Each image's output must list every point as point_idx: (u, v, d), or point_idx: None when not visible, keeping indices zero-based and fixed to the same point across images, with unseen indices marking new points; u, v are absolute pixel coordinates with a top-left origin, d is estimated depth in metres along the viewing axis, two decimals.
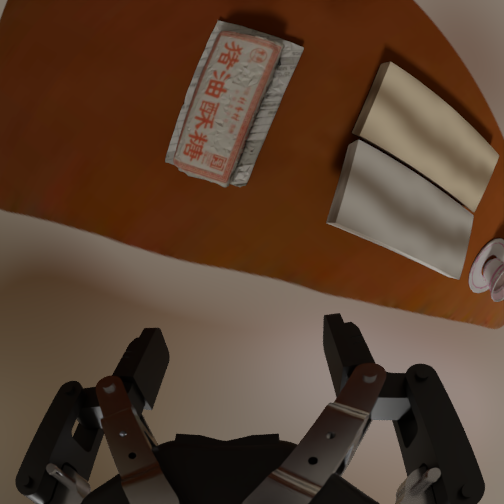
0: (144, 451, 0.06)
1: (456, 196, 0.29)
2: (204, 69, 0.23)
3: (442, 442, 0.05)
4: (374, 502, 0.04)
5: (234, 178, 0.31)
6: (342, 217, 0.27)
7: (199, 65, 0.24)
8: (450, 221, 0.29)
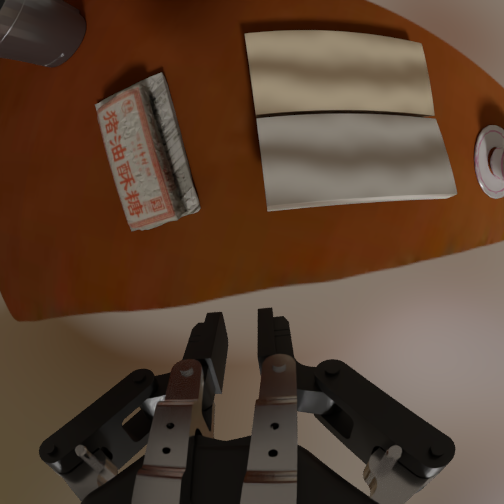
0: (180, 451, 0.06)
1: (401, 110, 0.26)
2: (104, 145, 0.27)
3: (386, 422, 0.06)
4: (374, 502, 0.04)
5: (187, 208, 0.32)
6: (272, 197, 0.26)
7: None
8: (408, 138, 0.25)
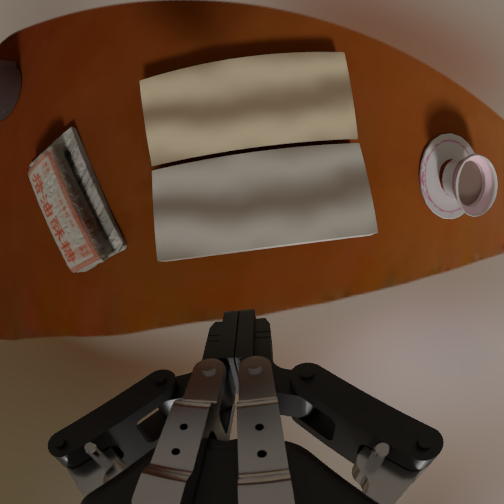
0: (190, 454, 0.06)
1: (311, 139, 0.26)
2: None
3: (369, 421, 0.06)
4: (374, 502, 0.04)
5: (114, 247, 0.33)
6: (161, 252, 0.27)
7: None
8: (316, 173, 0.26)
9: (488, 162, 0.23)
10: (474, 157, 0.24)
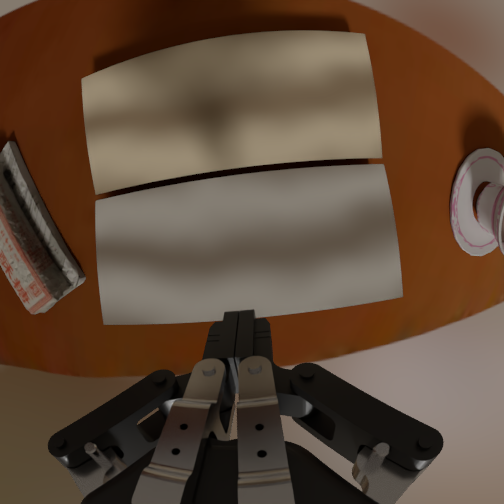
0: (190, 454, 0.06)
1: (316, 157, 0.18)
2: None
3: (369, 421, 0.06)
4: (374, 502, 0.04)
5: (70, 281, 0.24)
6: (108, 314, 0.19)
7: None
8: (321, 209, 0.18)
9: None
10: None
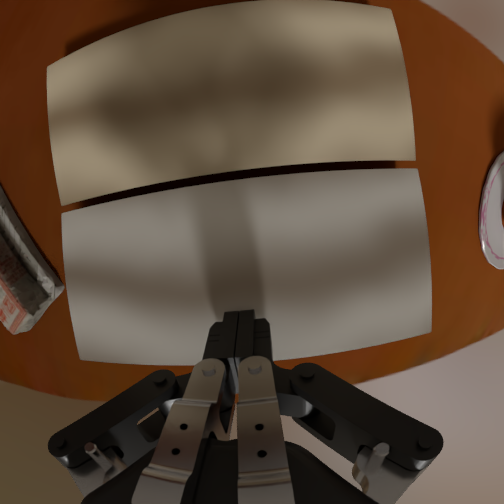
0: (190, 454, 0.06)
1: (335, 158, 0.14)
2: None
3: (369, 421, 0.06)
4: (374, 502, 0.04)
5: (47, 292, 0.19)
6: (83, 349, 0.15)
7: None
8: (341, 227, 0.14)
9: None
10: None
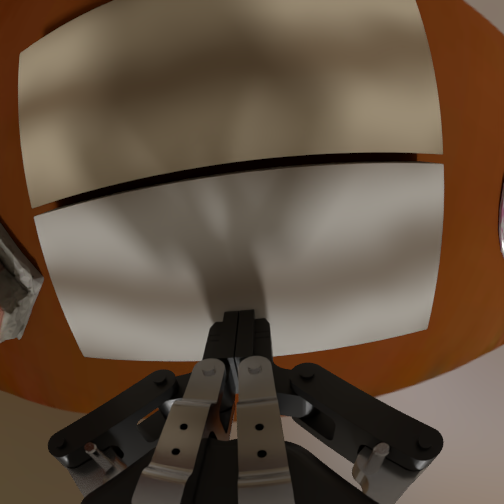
0: (190, 454, 0.06)
1: (352, 148, 0.11)
2: None
3: (368, 421, 0.06)
4: (374, 502, 0.04)
5: (26, 287, 0.16)
6: (85, 348, 0.15)
7: None
8: (351, 230, 0.12)
9: None
10: None
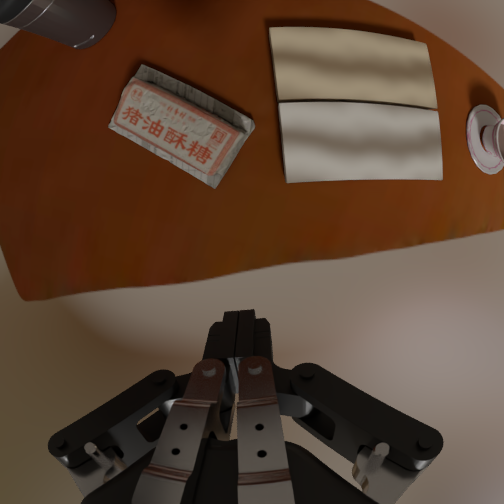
0: (189, 454, 0.06)
1: (407, 102, 0.28)
2: (140, 136, 0.30)
3: (369, 421, 0.06)
4: (374, 502, 0.04)
5: (244, 129, 0.31)
6: (291, 176, 0.31)
7: (140, 143, 0.32)
8: (409, 129, 0.29)
9: None
10: None
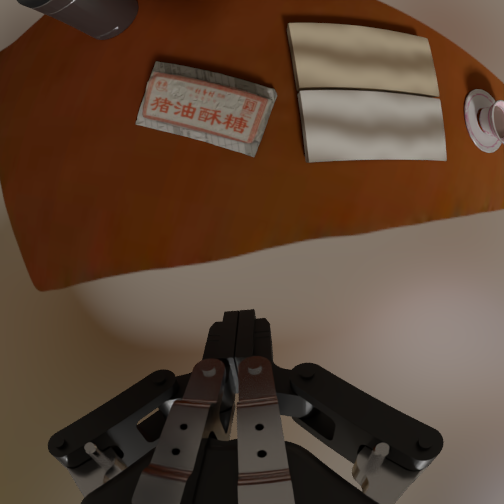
0: (190, 454, 0.06)
1: (412, 90, 0.29)
2: (173, 122, 0.32)
3: (369, 421, 0.06)
4: (374, 502, 0.04)
5: (268, 98, 0.33)
6: (312, 156, 0.33)
7: (172, 131, 0.35)
8: (415, 114, 0.30)
9: None
10: (500, 103, 0.26)
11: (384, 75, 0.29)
